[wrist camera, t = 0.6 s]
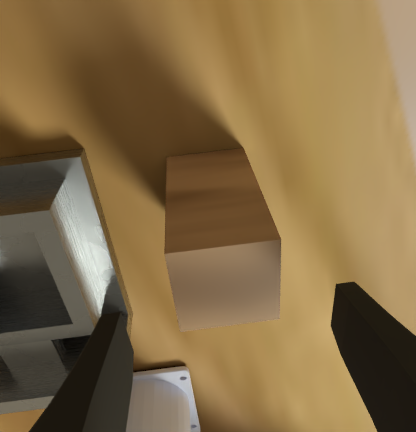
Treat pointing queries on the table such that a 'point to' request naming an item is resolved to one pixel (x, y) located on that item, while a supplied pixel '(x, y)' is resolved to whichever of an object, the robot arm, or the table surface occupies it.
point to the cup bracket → (51, 273)
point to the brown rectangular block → (220, 242)
